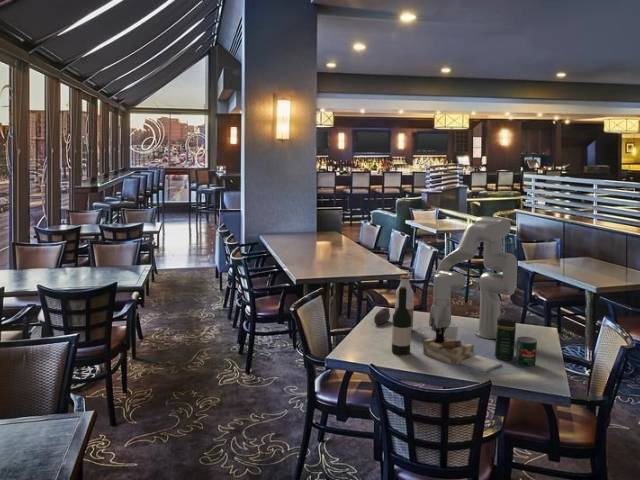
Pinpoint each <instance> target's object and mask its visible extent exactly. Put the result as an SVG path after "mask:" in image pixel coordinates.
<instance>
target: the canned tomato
mask: <svg viewBox="0 0 640 480" xmlns="http://www.w3.org/2000/svg"><path fill="white" fill-rule="evenodd" d="M537 344H538V340H537V338H534V337H531V336H518V337H517V338H516V355H515V364H516V366H518V367H521V368H527V369H532V368H535V367H536V362H537V350H538V349H537V346H538V345H537Z"/></svg>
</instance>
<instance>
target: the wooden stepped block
mask: <svg viewBox="0 0 640 480" xmlns="http://www.w3.org/2000/svg"><path fill="white" fill-rule="evenodd" d="M444 341H455V340H452V339H449V338H446V336H444ZM436 343H439V342H437V341H436V336H434V337H431V338H427V339H424V340H423V348H422V350H423V353H422V354H423V355H426V356H429V357H431V358H434V359H436V360H439V361H443V362H445V363H448V364H451V365H454V366H455V365H458V364H461V361H463V360H465V359H468V358H471V357H474V346H475V345H474V344H473V343H466V344H464V345H463V344H462V346H460V347H457V348H454V349H451V350H448V349H445V348H443V346H442V345H439V344H436Z"/></svg>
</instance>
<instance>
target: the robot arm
mask: <svg viewBox="0 0 640 480" xmlns="http://www.w3.org/2000/svg"><path fill="white" fill-rule="evenodd" d="M511 229H512V225H511V222H510V220H509V219H507V218H504V217H496V216H494V217H493V216H487V215H486V216H483V215H481V216H478V217H476V218H475V220H474V222H470V223H469V224H467V225H466V226H465V229H464V231H463V233H462V236H461V238H460V240H459V242H458V244H457V246H456V249H454V250H453V251H451V252H450V253H448V255H446V256H445V257H444V258H443V259H442V260H441V261H440V263H439V264H438V267H437V269H436V272H435V274H434V277H433V290H432V292H433V293H432V305H431V307H430V311H429V319H428V320H429V321H428V326H429V327H431V331H432V332H435V337H436V341H437V342H440V343H442V342H444V333H445V330H446V328H448V327H449V325H450V324H451V322H452V308H451V306H452V305H451V296H452V294H451V291H452V290H454V291H455V290H457V291H458V290H461V289H463V288H464V287H465V286H466V284H467V277H466V276H465V275H464V274H463V273H461V272H457V271H452V270H450V269H451V268H452V267H454V266H455V265H457V264H459V263H461V262H465V261H469V260H471V259H474V257H475V254H476V253H477V250H478V248H479V246H480V243H483V266H484V268H485V269H486V270H489V272H484V273H482V274H481V275H479V280H478V282H479V283H478V285H479V292H480V294H479V295H480V303H479V319H478V329H477V330H475V333H474V334H475V336H477V337H479V338H482V339H487V340H488V339H489V340H496V331H497V319H498V317H499V316H501V297H500V296H499V295H501V296H502V295H504V296H511V295H513V294H514V293H515V292H516V288H517V282H518V281H517V279H518V278H517V277H518V260H517V257H516V255H514V254H513V253H510V252H504V251H503V238H505V237H507V236H508V234H509V233H510V231H511ZM490 271H491V272H490ZM492 271H494V272H492ZM496 272H500V273H496Z"/></svg>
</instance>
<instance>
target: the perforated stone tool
mask: <svg viewBox="0 0 640 480" xmlns="http://www.w3.org/2000/svg"><path fill="white" fill-rule="evenodd" d="M390 318H391V314H390V308H388V307H384V308H382V309H380V310H378V311H377V313H376V314H375V315H374V319H373V320H374V324H375V325H378V326H379V325H382V324H385V323H386V322H387V321H389V320H390Z"/></svg>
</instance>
